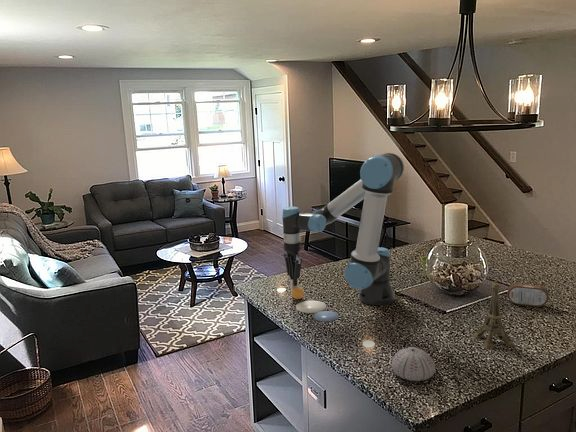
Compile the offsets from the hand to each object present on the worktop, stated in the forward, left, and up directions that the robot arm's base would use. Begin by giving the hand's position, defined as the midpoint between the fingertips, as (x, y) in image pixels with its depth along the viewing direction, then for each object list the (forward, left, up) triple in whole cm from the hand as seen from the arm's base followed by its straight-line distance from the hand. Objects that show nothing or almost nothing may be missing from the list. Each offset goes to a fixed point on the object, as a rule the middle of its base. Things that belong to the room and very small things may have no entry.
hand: (294, 291), depth 215 cm
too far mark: (-20, +17, -2) cm, 27 cm away
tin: (-96, -14, -3) cm, 97 cm away
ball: (-2, +2, 0) cm, 3 cm away
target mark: (-11, +9, -2) cm, 15 cm away
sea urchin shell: (-58, +51, -3) cm, 78 cm away
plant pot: (-56, -41, -3) cm, 69 cm away
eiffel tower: (-82, +22, -3) cm, 85 cm away
